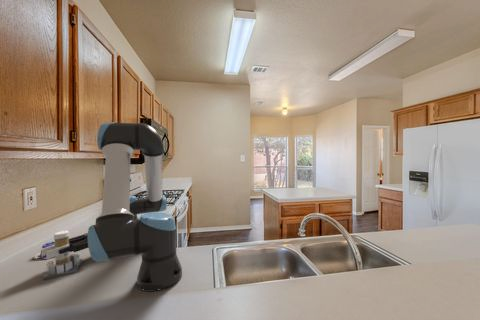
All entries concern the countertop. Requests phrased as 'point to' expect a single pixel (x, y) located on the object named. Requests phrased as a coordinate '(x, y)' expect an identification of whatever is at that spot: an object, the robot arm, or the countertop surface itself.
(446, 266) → the countertop surface
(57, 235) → the sprinkles bottle
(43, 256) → the checkered hat
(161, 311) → the countertop surface
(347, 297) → the countertop surface
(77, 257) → the collar
